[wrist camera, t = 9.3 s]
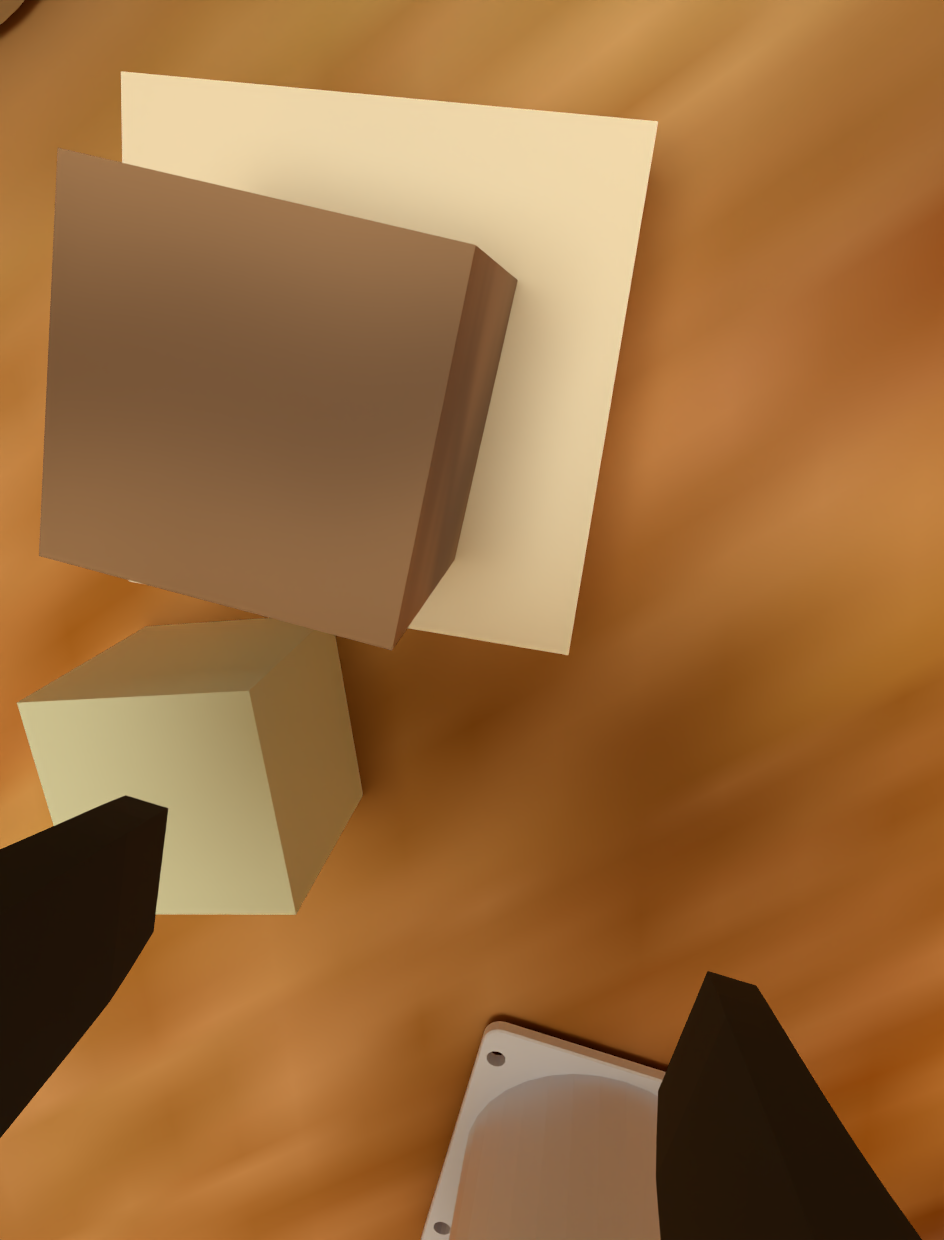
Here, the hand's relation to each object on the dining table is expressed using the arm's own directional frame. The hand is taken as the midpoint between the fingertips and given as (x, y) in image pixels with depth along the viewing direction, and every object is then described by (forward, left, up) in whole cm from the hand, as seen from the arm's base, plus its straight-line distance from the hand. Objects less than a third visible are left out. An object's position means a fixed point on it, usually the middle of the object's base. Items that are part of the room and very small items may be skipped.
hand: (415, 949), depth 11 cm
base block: (+6, +4, -10) cm, 13 cm away
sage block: (-3, +6, -10) cm, 12 cm away
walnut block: (+6, +4, -6) cm, 9 cm away
